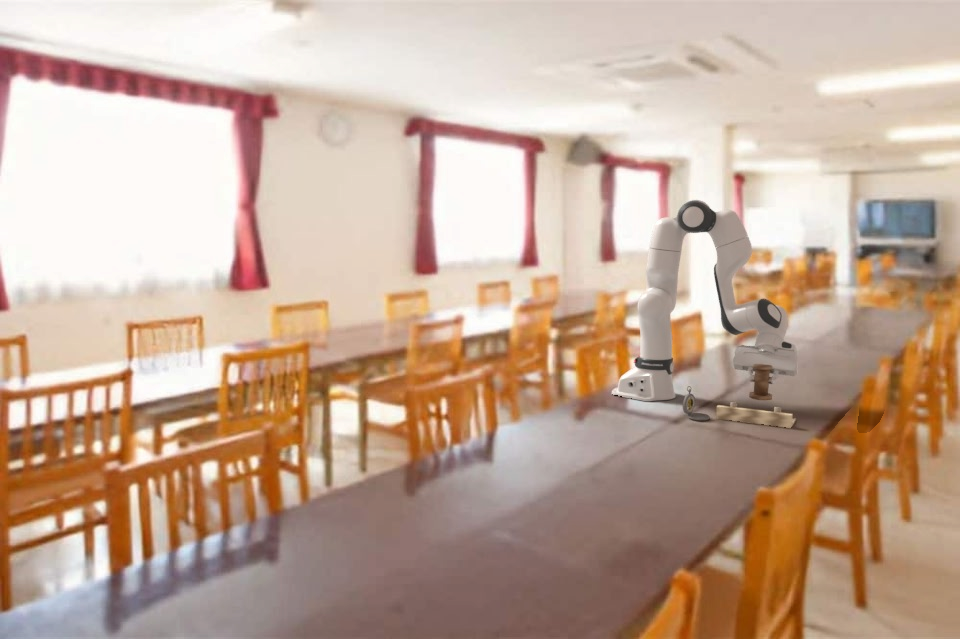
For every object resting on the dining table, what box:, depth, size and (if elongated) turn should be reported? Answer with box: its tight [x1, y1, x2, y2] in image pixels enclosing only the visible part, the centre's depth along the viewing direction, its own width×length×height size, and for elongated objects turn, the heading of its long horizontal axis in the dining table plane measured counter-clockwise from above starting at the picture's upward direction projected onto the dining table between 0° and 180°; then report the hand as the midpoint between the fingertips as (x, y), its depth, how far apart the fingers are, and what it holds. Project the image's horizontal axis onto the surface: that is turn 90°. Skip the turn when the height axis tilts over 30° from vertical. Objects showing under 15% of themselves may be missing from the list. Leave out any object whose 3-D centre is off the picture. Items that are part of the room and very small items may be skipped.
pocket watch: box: [682, 385, 711, 422], centre depth 225 cm, size 8×8×10 cm
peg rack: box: [715, 401, 797, 429], centre depth 222 cm, size 22×10×5 cm, turn 59°
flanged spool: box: [748, 364, 773, 401], centre depth 232 cm, size 7×7×11 cm
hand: (761, 381), depth 231 cm, fingers closed on flanged spool, 4 cm apart
